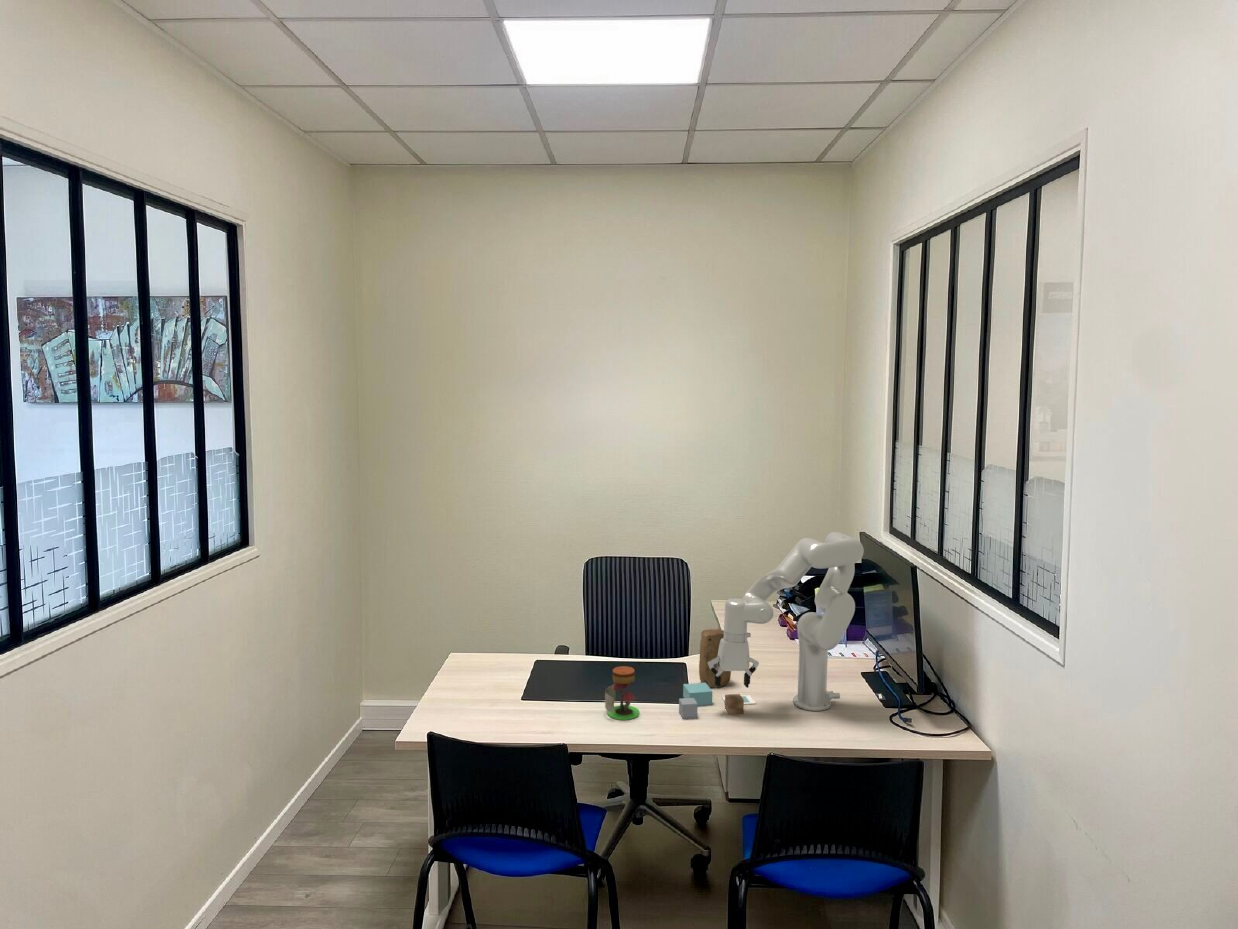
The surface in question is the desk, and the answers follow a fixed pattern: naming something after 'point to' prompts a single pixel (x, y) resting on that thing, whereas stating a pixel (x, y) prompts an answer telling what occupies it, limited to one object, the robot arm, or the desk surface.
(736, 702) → the walnut cube
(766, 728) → the desk surface
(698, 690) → the teal base block
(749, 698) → the card
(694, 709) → the slate grey cube
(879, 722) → the desk surface
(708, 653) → the brown piece
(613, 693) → the green-based stack
